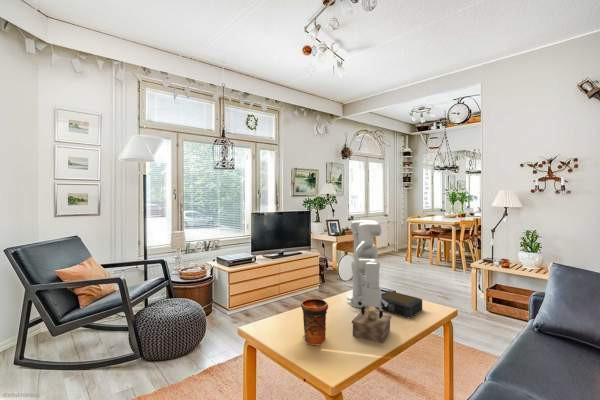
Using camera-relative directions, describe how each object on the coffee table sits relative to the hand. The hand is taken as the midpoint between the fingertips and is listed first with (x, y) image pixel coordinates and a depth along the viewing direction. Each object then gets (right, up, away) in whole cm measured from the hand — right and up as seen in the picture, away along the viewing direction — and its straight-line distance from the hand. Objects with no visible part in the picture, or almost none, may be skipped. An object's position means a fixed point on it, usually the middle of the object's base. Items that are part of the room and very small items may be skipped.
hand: (371, 315), depth 167 cm
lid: (0, -3, 0) cm, 3 cm away
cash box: (+27, -10, +38) cm, 47 cm away
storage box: (0, -11, 0) cm, 11 cm away
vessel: (-32, -11, -5) cm, 34 cm away
